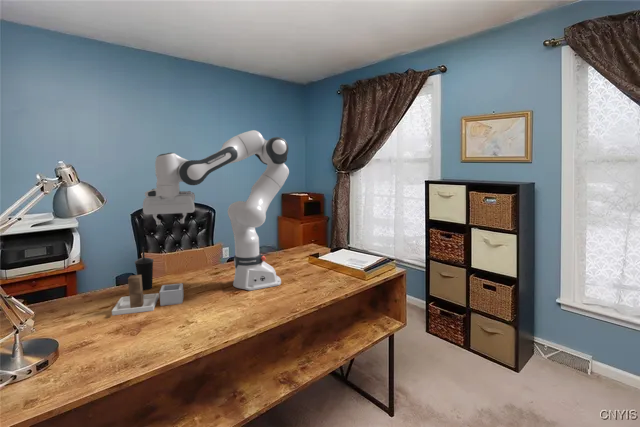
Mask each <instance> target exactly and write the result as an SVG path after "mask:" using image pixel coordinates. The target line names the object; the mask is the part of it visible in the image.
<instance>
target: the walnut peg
mask: <svg viewBox="0 0 640 427" xmlns="http://www.w3.org/2000/svg"><path fill="white" fill-rule="evenodd" d="M127 284H128V292H129V293H128V294H129V295H128V296H130V307H131V308H136V307H142V306H143V304H144V299H143V295H144V290H143V287H142V275H137V274H136V275H135V274H134V275H133V274H131V275H129V277H128V278H127Z"/></svg>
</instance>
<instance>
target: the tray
mask: <svg viewBox="0 0 640 427" xmlns="http://www.w3.org/2000/svg"><path fill="white" fill-rule="evenodd" d="M143 299H144V304H143V306H142V307H136V308H131V307H130V296H129V295H128V296H121V297H120V298H119V300H118V301H117V302H116V304H115V306H114V307H113V308H112V310H111V315H112V316H117V315H118V316H119V315H128V314H129V315H130V314H136V313H137V314H138V313H144V312H153V311H154V310H155V308H156V305H157V303H158V300H159V299H160V293H158V292H157V293H156V292H155V293H148V294H143Z"/></svg>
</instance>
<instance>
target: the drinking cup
mask: <svg viewBox="0 0 640 427" xmlns="http://www.w3.org/2000/svg"><path fill="white" fill-rule="evenodd" d="M141 248H142V250H141V252H142V257H141V258H138V259H136V260H135V261H134V264H135V268H136V270H135V271H136V275H142V287H143V291H149V290H152V289H153V276H154V274H153V273H154V271H153V270H154V269H153V268H154V259H153V258H150V257H146V256H145V247H144V246H142V247H141Z"/></svg>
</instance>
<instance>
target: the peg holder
mask: <svg viewBox="0 0 640 427" xmlns="http://www.w3.org/2000/svg"><path fill="white" fill-rule="evenodd" d="M183 301H184V283H173V284H162V285H161V288H160V290H159V302H160V303H159V304H160V307H163V306H171V305H181V304H183Z"/></svg>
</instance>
